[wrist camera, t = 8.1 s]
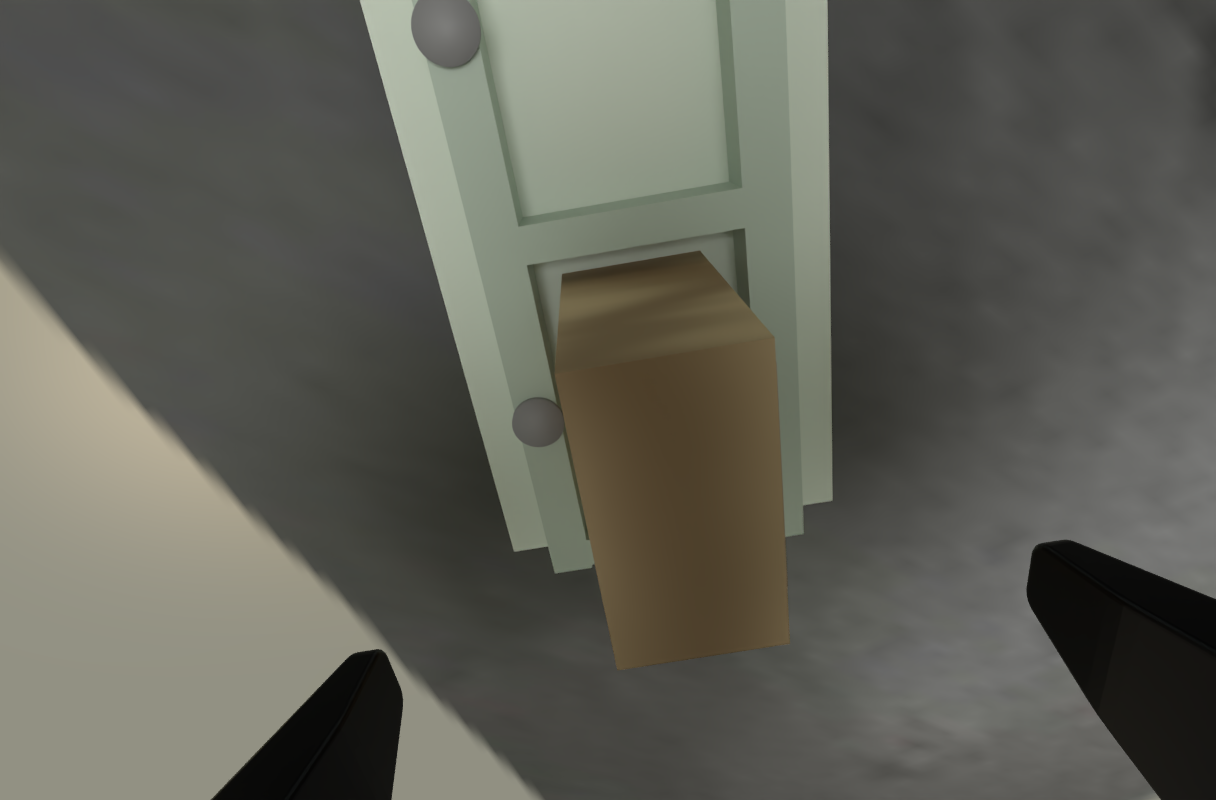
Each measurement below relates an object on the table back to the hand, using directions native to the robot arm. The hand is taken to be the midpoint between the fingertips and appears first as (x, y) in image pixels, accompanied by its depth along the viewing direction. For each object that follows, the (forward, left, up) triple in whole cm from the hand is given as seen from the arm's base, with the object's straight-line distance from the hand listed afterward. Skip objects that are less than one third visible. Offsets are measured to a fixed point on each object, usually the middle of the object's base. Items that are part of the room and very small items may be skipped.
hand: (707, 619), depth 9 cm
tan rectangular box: (0, 0, -8) cm, 8 cm away
